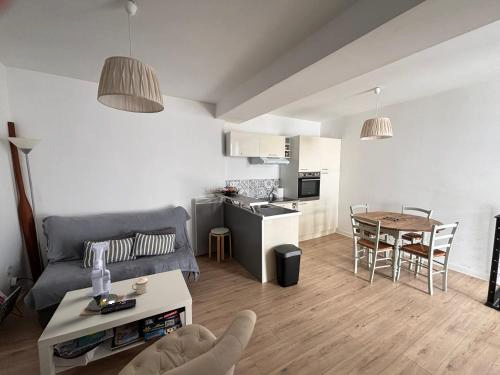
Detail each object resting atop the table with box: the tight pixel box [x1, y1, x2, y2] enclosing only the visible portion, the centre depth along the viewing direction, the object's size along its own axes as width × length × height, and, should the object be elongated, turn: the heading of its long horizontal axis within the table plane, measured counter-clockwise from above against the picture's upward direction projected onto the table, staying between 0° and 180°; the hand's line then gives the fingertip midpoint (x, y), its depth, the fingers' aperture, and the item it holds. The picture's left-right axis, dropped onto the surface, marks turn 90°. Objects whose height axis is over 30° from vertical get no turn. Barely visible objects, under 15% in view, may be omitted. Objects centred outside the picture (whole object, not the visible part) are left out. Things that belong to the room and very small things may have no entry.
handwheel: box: [87, 293, 118, 311], centre depth 152 cm, size 18×18×6 cm
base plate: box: [79, 294, 126, 317], centre depth 152 cm, size 20×20×1 cm
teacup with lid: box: [131, 277, 149, 295], centre depth 169 cm, size 12×9×12 cm
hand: (98, 304), depth 145 cm, fingers closed
